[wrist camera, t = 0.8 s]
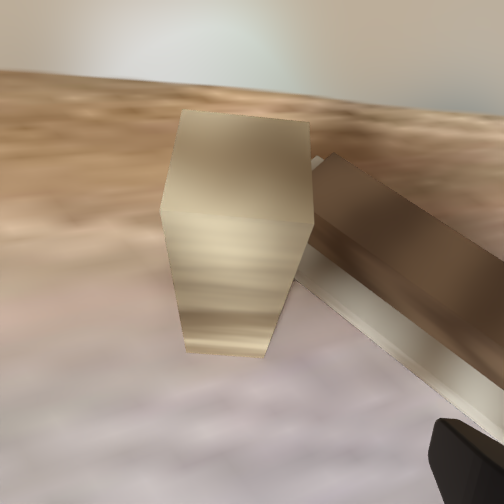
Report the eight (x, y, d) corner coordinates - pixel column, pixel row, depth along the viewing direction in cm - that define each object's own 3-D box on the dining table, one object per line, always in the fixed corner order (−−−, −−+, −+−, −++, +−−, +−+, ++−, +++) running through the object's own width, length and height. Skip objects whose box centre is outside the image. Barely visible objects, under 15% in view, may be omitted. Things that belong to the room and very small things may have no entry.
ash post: (263, 358, 22) (314, 224, 11) (186, 352, 22) (159, 209, 11) (265, 289, 24) (309, 122, 13) (196, 283, 24) (182, 109, 13)
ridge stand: (737, 451, 21) (841, 443, 18) (717, 615, 17) (847, 647, 14) (313, 166, 30) (326, 123, 27) (236, 231, 26) (239, 191, 23)
